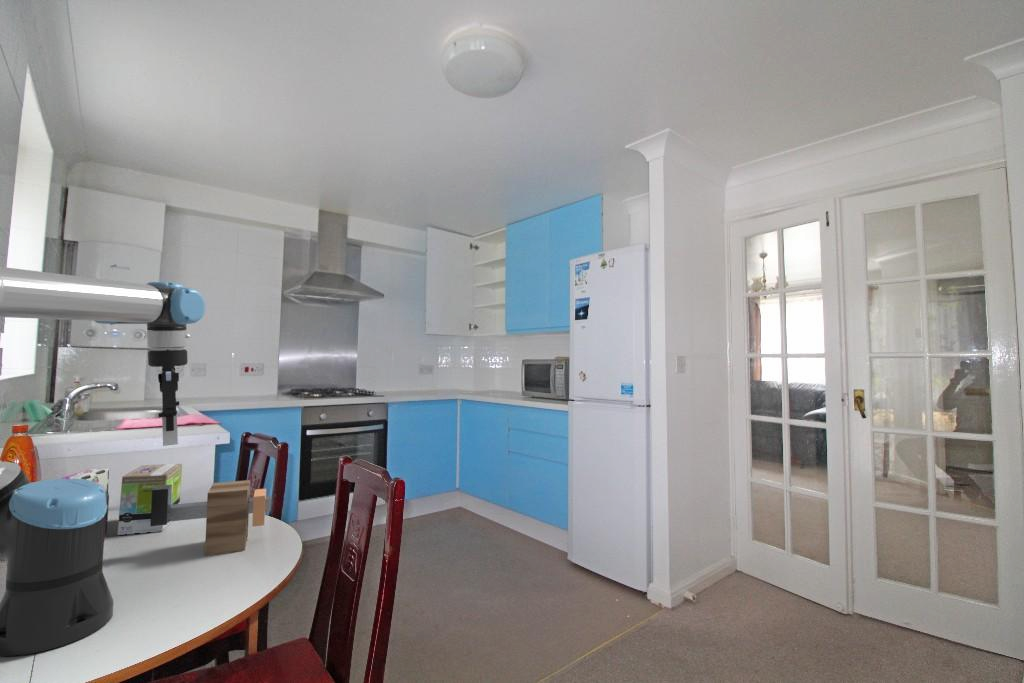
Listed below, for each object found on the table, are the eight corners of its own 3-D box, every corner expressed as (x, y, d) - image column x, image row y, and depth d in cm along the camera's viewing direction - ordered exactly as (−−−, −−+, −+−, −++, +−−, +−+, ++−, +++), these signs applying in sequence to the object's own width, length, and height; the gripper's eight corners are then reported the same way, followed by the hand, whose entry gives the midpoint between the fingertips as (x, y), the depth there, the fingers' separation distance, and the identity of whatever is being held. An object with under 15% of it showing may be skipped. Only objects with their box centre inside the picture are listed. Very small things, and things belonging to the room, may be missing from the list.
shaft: (270, 513, 118) (271, 480, 119) (150, 526, 108) (152, 490, 108) (270, 509, 122) (272, 477, 122) (154, 520, 112) (156, 485, 112)
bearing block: (244, 550, 113) (247, 489, 114) (204, 555, 110) (207, 493, 110) (247, 536, 122) (250, 480, 123) (210, 540, 119) (213, 482, 119)
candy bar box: (85, 534, 121) (88, 468, 122) (107, 534, 122) (110, 468, 122) (49, 552, 110) (53, 479, 111) (73, 551, 111) (78, 478, 111)
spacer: (264, 525, 116) (265, 495, 116) (252, 526, 115) (253, 496, 115) (265, 516, 123) (266, 488, 123) (253, 517, 121) (255, 489, 122)
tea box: (164, 532, 124) (167, 473, 125) (116, 536, 120) (119, 476, 121) (180, 514, 138) (182, 462, 139) (137, 517, 134) (140, 464, 135)
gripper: (188, 351, 105) (191, 447, 106) (185, 346, 126) (188, 427, 127) (145, 352, 101) (148, 453, 102) (149, 346, 121) (152, 430, 122)
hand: (170, 438), depth 114 cm, fingers open, 13 cm apart
